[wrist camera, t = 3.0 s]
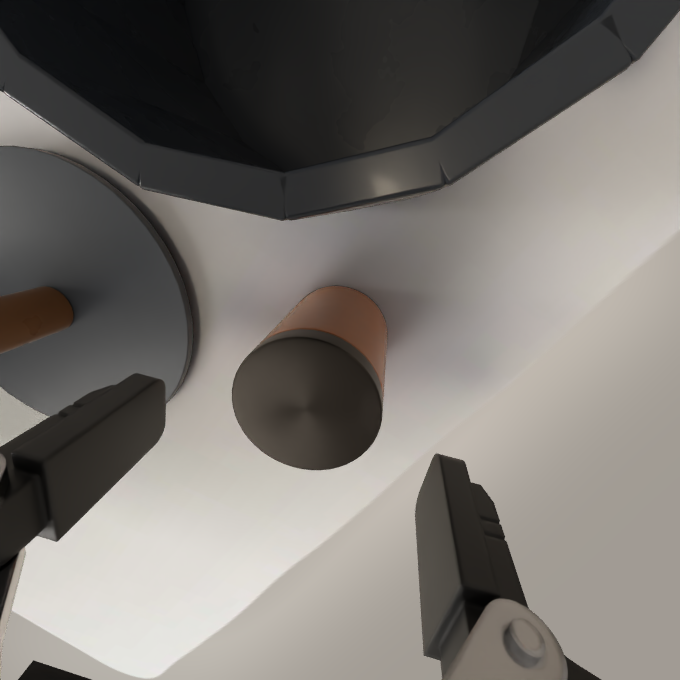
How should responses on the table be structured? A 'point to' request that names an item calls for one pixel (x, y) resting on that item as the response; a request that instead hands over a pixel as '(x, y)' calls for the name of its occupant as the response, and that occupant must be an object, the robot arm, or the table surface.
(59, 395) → the pot lid
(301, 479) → the table surface
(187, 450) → the table surface
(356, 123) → the pot
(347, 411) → the tea tin
